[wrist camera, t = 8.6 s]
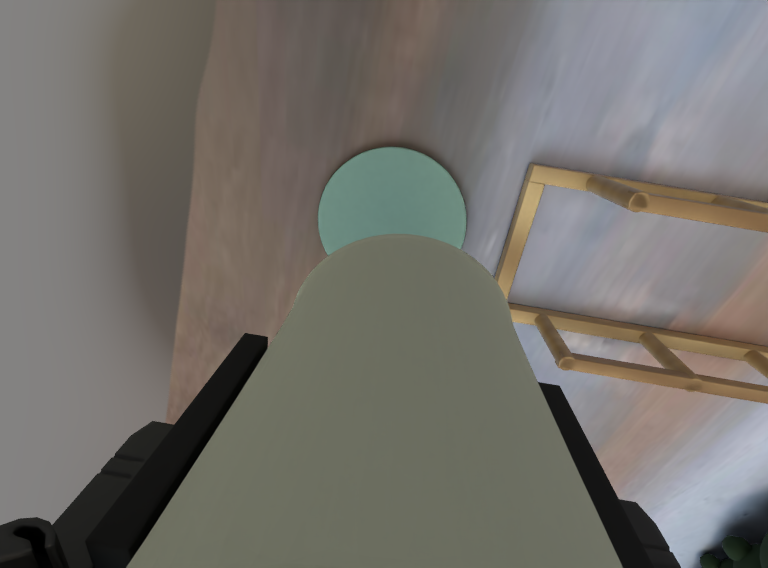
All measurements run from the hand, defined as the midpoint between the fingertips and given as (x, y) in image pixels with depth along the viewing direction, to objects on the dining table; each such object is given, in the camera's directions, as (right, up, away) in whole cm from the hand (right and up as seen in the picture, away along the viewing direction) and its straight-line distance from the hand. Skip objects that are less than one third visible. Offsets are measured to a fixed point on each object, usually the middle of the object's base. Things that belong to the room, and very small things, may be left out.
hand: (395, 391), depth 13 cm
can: (0, +1, +3) cm, 4 cm away
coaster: (0, +9, +18) cm, 20 cm away
